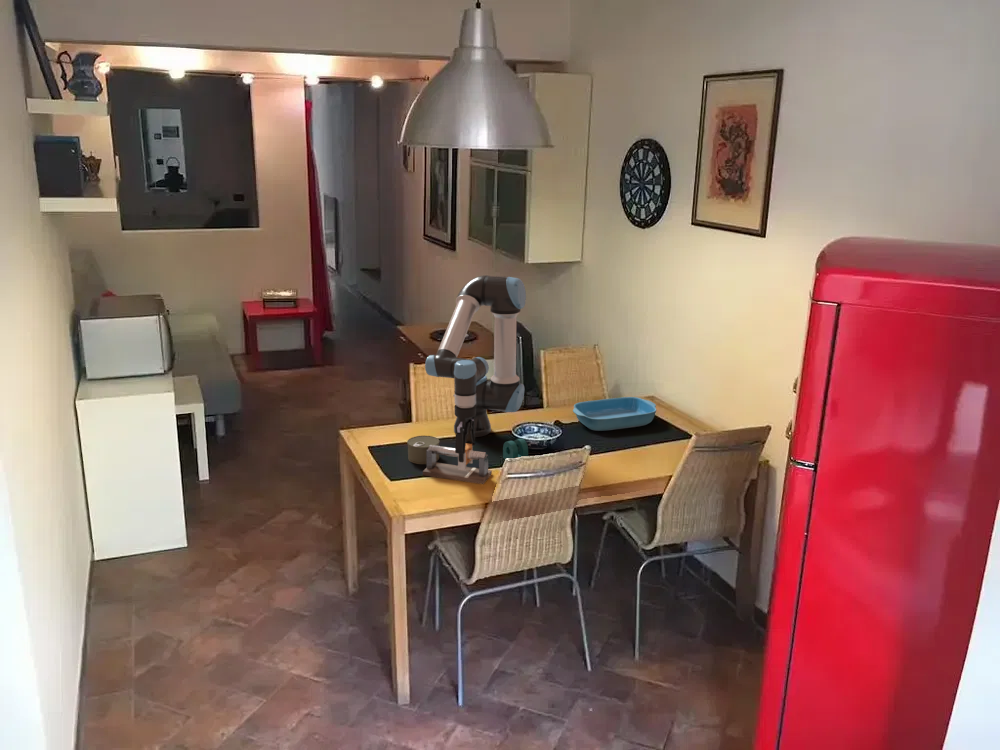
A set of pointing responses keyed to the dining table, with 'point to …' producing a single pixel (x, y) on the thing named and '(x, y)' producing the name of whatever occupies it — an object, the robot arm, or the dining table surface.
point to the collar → (467, 447)
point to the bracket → (515, 448)
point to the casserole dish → (615, 413)
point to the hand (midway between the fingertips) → (465, 465)
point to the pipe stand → (452, 470)
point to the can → (420, 448)
